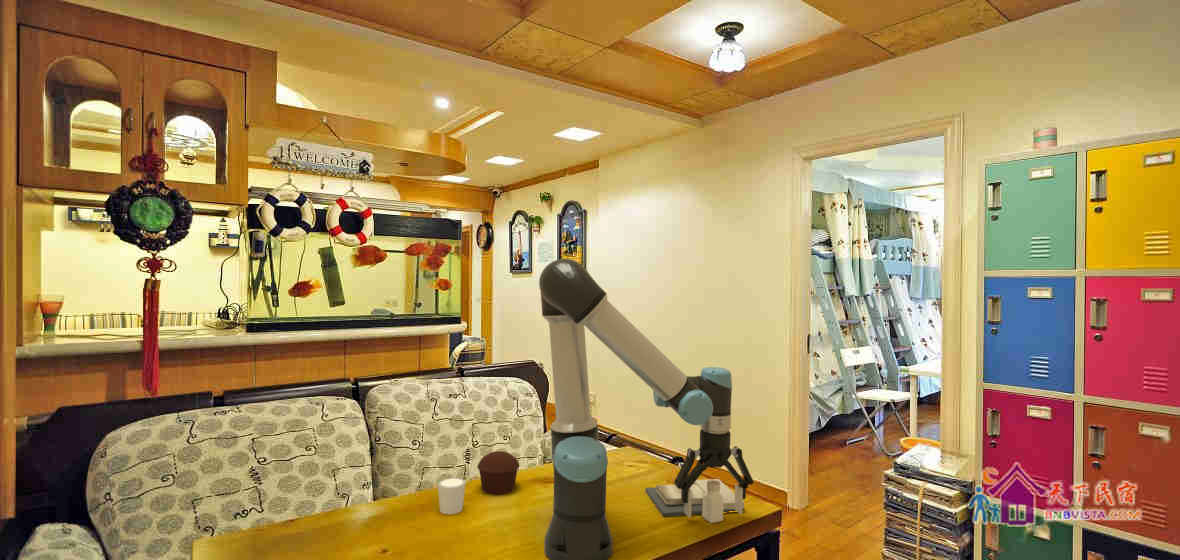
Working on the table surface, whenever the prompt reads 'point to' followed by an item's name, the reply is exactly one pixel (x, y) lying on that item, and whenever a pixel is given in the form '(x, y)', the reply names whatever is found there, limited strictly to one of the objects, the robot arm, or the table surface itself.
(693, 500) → the plank
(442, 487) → the white tapered cylinder
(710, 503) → the salt shaker
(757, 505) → the table surface
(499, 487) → the muffin
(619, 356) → the robot arm
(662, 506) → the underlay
